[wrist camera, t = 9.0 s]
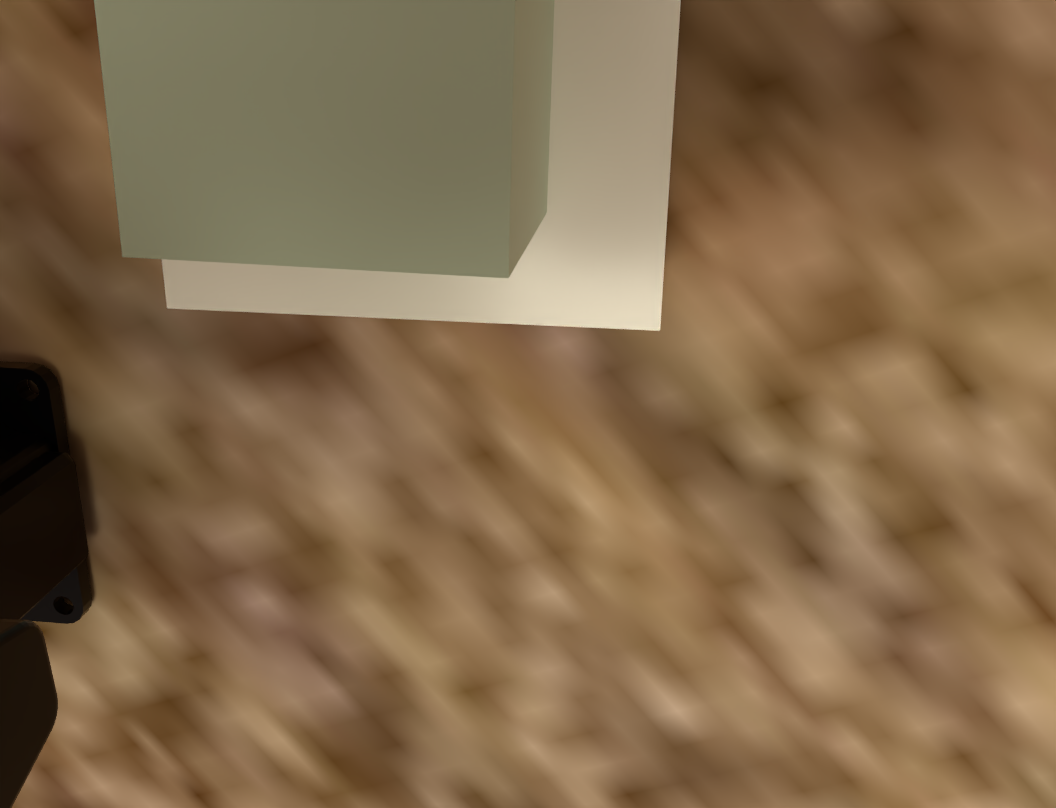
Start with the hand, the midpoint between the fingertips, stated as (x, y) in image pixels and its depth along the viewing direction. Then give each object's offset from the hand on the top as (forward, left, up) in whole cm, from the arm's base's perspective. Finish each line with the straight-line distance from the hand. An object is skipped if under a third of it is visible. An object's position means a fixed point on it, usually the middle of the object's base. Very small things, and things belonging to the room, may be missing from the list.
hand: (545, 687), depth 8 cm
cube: (-3, +5, -10) cm, 12 cm away
